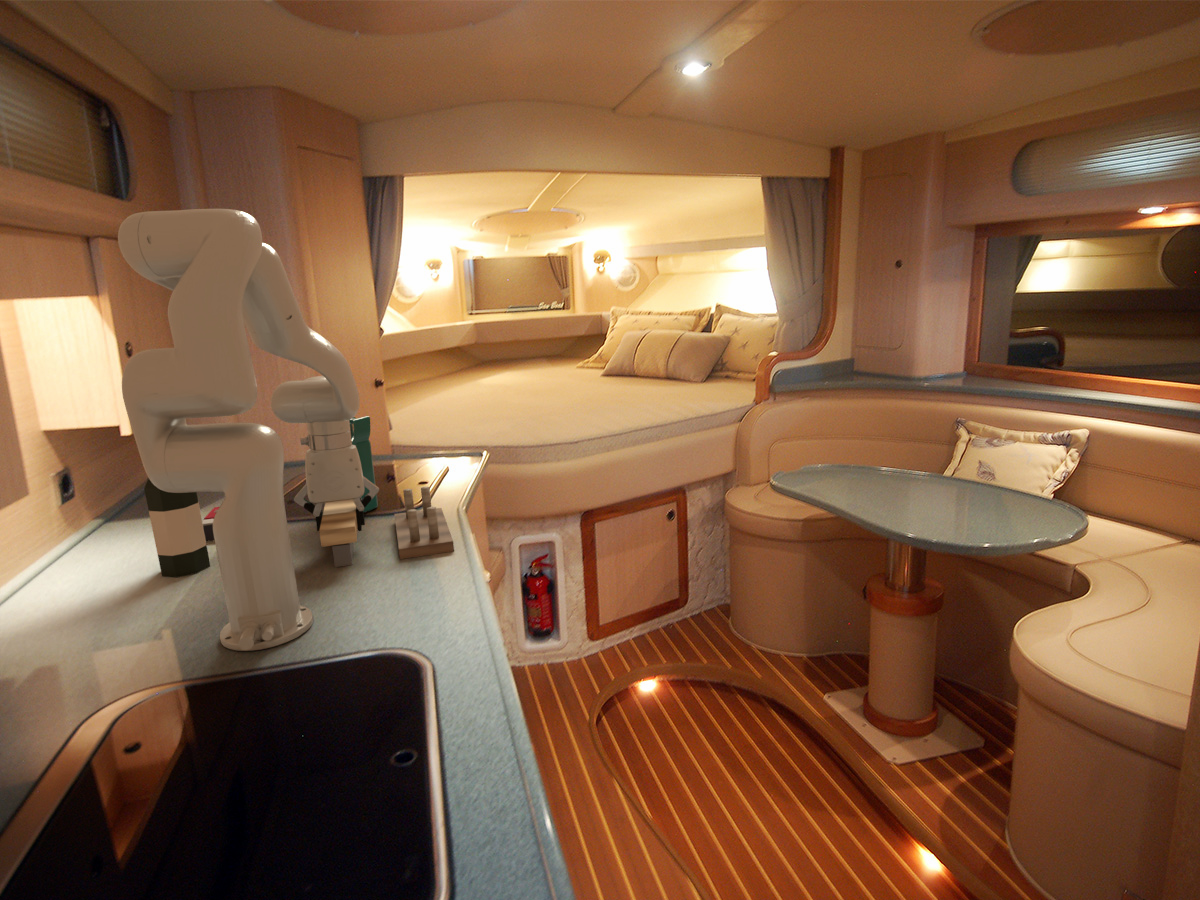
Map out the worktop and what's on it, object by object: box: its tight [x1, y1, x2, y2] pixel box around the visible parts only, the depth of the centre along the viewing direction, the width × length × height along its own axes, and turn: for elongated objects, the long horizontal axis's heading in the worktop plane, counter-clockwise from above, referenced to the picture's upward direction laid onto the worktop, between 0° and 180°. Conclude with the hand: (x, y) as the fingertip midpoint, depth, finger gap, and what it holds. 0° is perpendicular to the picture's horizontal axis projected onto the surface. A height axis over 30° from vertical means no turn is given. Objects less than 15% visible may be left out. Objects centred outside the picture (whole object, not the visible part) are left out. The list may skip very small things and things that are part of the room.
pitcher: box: [349, 415, 379, 513], centre depth 155 cm, size 10×8×22 cm
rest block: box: [331, 542, 354, 568], centre depth 134 cm, size 20×3×4 cm, turn 18°
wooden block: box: [318, 500, 358, 548], centre depth 133 cm, size 22×6×3 cm, turn 18°
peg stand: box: [393, 486, 455, 560], centre depth 138 cm, size 22×10×8 cm, turn 18°
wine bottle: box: [143, 477, 211, 578], centre depth 124 cm, size 8×8×30 cm
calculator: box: [202, 506, 220, 542], centre depth 149 cm, size 11×4×15 cm
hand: (341, 530), depth 134 cm, fingers closed on wooden block, 6 cm apart
